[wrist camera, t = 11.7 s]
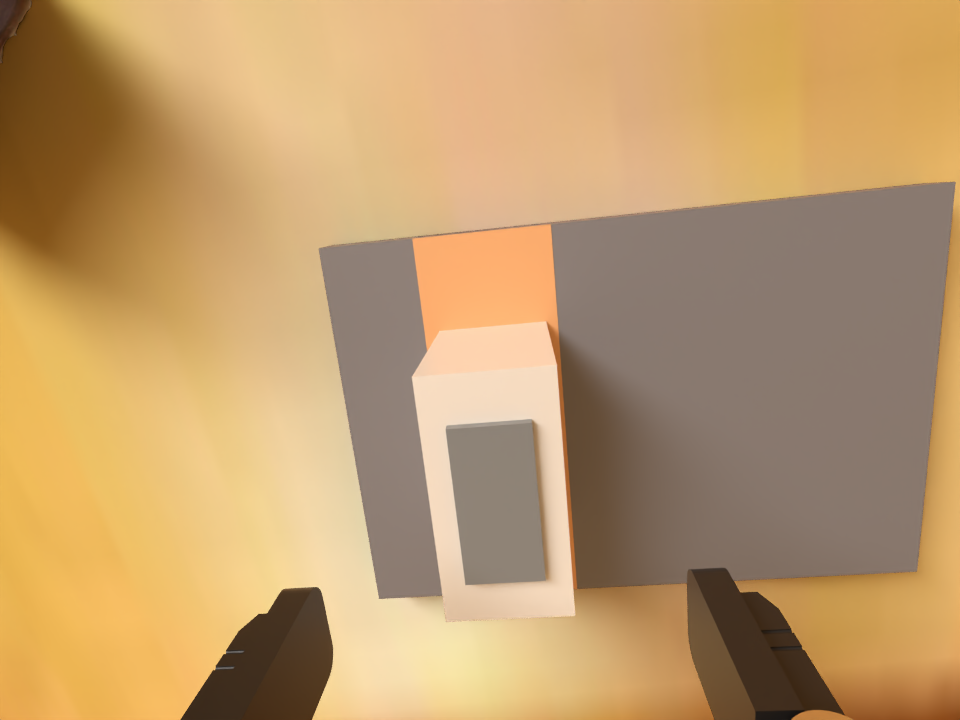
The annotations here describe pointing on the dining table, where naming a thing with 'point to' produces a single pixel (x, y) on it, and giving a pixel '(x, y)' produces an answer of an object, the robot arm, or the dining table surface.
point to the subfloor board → (676, 379)
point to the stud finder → (496, 472)
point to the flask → (11, 18)
